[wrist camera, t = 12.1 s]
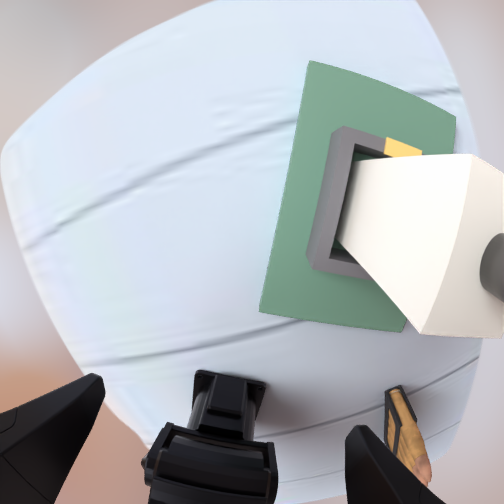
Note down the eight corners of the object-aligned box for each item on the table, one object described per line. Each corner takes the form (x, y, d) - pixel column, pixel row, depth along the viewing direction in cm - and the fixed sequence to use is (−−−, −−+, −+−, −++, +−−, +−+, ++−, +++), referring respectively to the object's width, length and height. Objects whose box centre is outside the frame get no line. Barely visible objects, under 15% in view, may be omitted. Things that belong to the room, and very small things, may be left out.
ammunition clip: (384, 390, 23) (421, 482, 11) (400, 384, 23) (442, 473, 11) (383, 439, 26) (405, 512, 14) (396, 434, 25) (421, 505, 14)
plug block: (389, 248, 18) (530, 367, 4) (332, 235, 18) (453, 378, 4) (405, 179, 16) (582, 216, 3) (349, 161, 16) (526, 155, 3)
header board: (395, 325, 21) (416, 354, 16) (259, 304, 21) (256, 336, 17) (448, 118, 16) (480, 111, 11) (307, 66, 16) (317, 40, 11)
